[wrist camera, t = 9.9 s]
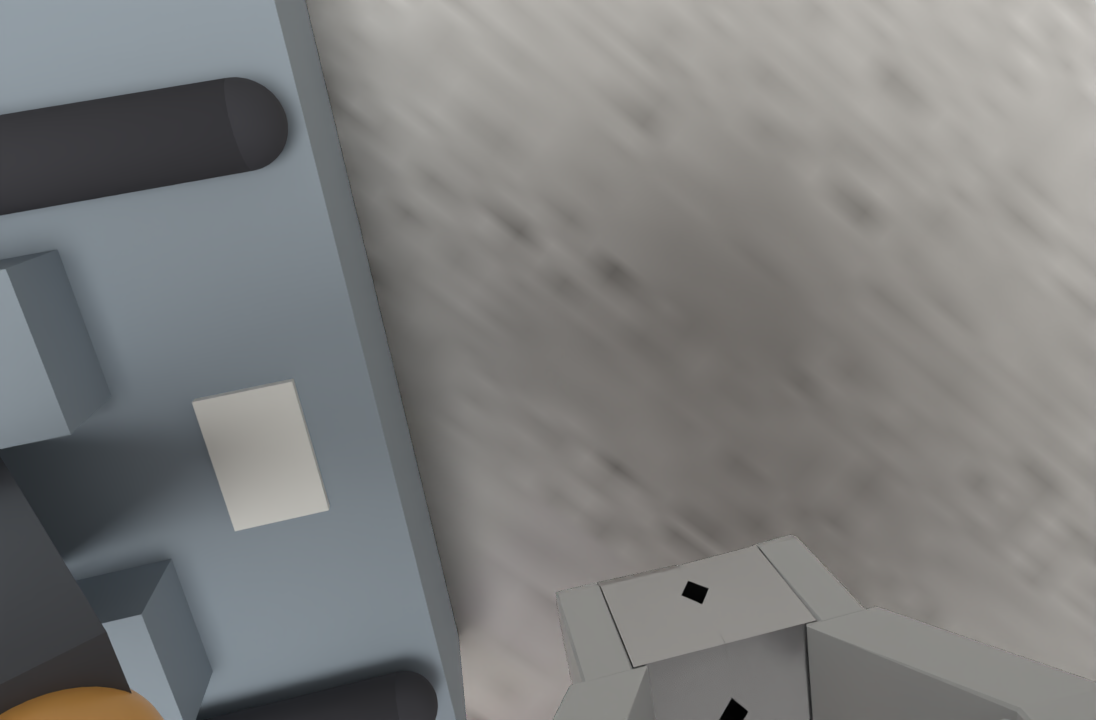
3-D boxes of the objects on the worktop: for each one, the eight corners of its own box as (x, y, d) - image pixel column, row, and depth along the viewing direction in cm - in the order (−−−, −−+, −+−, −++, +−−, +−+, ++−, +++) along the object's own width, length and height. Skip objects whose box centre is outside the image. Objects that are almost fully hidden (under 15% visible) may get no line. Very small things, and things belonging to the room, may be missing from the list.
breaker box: (297, -32, 19) (225, -127, 12) (458, 637, 26) (479, 854, 18) (-422, 76, 18) (-1045, 47, 10) (-59, 764, 24) (-274, 1062, 16)
